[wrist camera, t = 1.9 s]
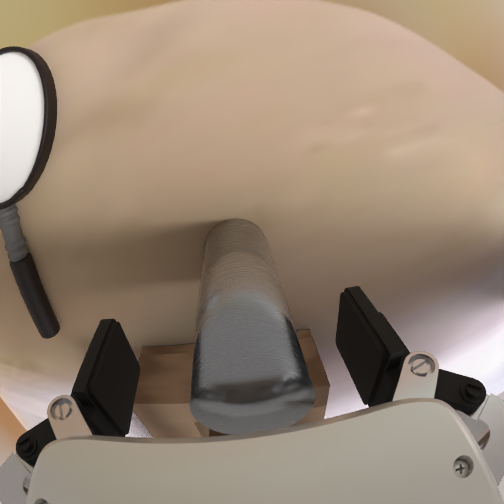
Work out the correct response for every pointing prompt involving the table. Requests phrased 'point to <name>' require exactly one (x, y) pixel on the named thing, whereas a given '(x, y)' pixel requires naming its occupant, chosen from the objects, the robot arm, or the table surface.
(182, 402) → the brown rectangular block
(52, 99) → the magnifying glass
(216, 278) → the steel pin
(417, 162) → the table surface
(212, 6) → the table surface
